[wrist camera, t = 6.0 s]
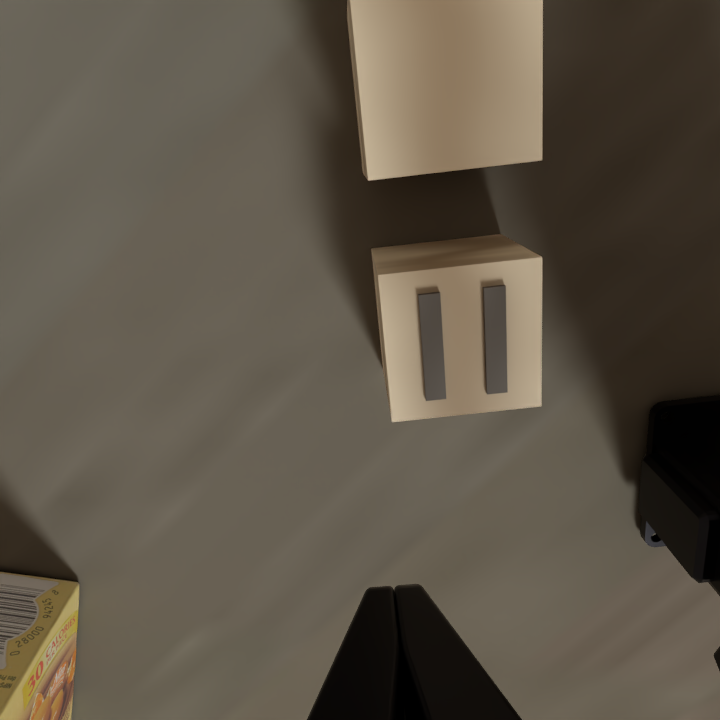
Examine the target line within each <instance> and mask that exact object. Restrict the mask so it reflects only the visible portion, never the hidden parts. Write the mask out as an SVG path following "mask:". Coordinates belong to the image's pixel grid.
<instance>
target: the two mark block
mask: <svg viewBox="0 0 720 720" xmlns="http://www.w3.org/2000/svg"><path fill="white" fill-rule="evenodd" d="M371 253H372V263H373V274H374V284H375V294H376V304H377V314H378V324H379V334H380V345H381V355H382V365H383V372H384V378H385V384H386V390H387V396H388V402H389V407H390V413H391V419H392V422H398V421H408V420H417V419H427V418H436V417H445V416H455V415H464V414H474V413H483V412H493V411H502V410H511V409H521V408H530V407H540V406H541V394H542V257H541V256H540V255H538V254H536V253H534V252H532V251H531V250H529V249H527V248H525V247H523V246H522V245H520V244H518V243H516V242H514V241H512V240H511V239H509V238H507V237H505V236H503V235H502V234H497V235H488V236H479V237H470V238H461V239H452V240H443V241H434V242H424V243H415V244H406V245H397V246H388V247H379V248H371Z"/></svg>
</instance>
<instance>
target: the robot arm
mask: <svg viewBox="0 0 720 720" xmlns="http://www.w3.org/2000/svg"><path fill="white" fill-rule="evenodd" d="M666 412H669V414H668V416H667V417H666V418H664V419H661V417H662V415H663V414H664V413H666ZM638 511H639V513H640V514H641V515H642V516H641V529H640V534H641V537H642V538H643V539H644V541H645V542H646V543H647V544H648V545H649V546H651V547H661V546H667V548H668V549H669V550H670V551H671V553H672V554H673V555H674V556H675V557H676V559H677V560H678V561H679V562H680V564H681V565H682V566H683V567H684V569H685V570H686V571H687V572H688V574H689V575H690V576H691V577H692V578H693V579H695V580H696V581H697V582H698V583H703V582H708V583H709V584H710V585H711V586H712V587H713V589H714V590H715V591H716V592H717V593H718V595H719V596H720V395H717V396H708V397H699V398H689V399H680V400H671V401H663V402H659V403H657V404H656V405H654V406H653V407H652V409H651V410H650V414H649V424H648V437H647V450H646V455H645V456H644V458H643V459H642V465H641V479H640V492H639V506H638ZM654 533H656V535H654V536H652V535H653V534H654ZM714 658H715V660H716V663H717V666H718V668H719V671H720V647H719V648H718V649H717V651H716V652H715V653H714ZM307 720H522V719H521V718H520V716H519V715H518V714H517V712H516V711H515V710H514V708H513V707H512V706H511V704H510V703H509V702H508V700H507V699H506V698H505V696H504V695H503V694H502V692H501V691H500V690H499V688H498V687H497V686H496V684H495V683H494V682H493V680H492V679H491V678H490V676H489V675H488V674H487V672H486V671H485V670H484V668H483V667H482V666H481V664H480V663H479V662H478V660H477V659H476V658H475V656H474V655H473V654H472V652H471V651H470V650H469V648H468V647H467V646H466V644H465V643H464V642H463V640H462V639H461V638H460V636H459V635H458V634H457V632H456V631H455V630H454V628H453V627H452V626H451V624H450V623H449V622H448V620H447V619H446V618H445V616H444V615H443V614H442V612H441V611H440V610H439V608H438V607H437V606H436V604H435V603H434V602H433V600H432V599H431V598H430V596H429V595H428V594H427V592H426V591H425V590H424V588H423V587H422V586H421V585H419V584H409V585H398V586H396V587H395V589H393V588H392V587H391V586H383V587H370V588H368V589H367V590H366V592H365V594H364V596H363V598H362V600H361V602H360V605H359V607H358V609H357V611H356V613H355V616H354V618H353V620H352V622H351V624H350V626H349V629H348V631H347V633H346V635H345V637H344V640H343V642H342V644H341V646H340V648H339V651H338V653H337V655H336V657H335V659H334V662H333V664H332V666H331V668H330V670H329V673H328V675H327V677H326V679H325V681H324V684H323V686H322V688H321V690H320V692H319V694H318V697H317V699H316V701H315V703H314V705H313V708H312V710H311V712H310V714H309V716H308V719H307Z"/></svg>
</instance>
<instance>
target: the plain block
mask: <svg viewBox="0 0 720 720" xmlns="http://www.w3.org/2000/svg"><path fill="white" fill-rule="evenodd" d="M347 24H348V33H349V43H350V53H351V63H352V72H353V82H354V92H355V102H356V111H357V121H358V131H359V141H360V150H361V160H362V170H363V174H364V176H365V177H366V178H367V180H368V181H370V180H378V179H387V178H395V177H404V176H413V175H421V174H430V173H438V172H447V171H456V170H464V169H473V168H481V167H490V166H499V165H507V164H516V163H524V162H533V161H542V114H543V0H347Z"/></svg>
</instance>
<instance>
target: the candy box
mask: <svg viewBox="0 0 720 720" xmlns="http://www.w3.org/2000/svg"><path fill="white" fill-rule="evenodd" d="M78 607H79V583H78V582H73V581H67V580H59V579H51V578H45V577H37V576H29V575H21V574H14V573H7V572H1V571H0V720H71V713H72V702H73V686H74V671H75V660H76V639H77V626H78Z"/></svg>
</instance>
